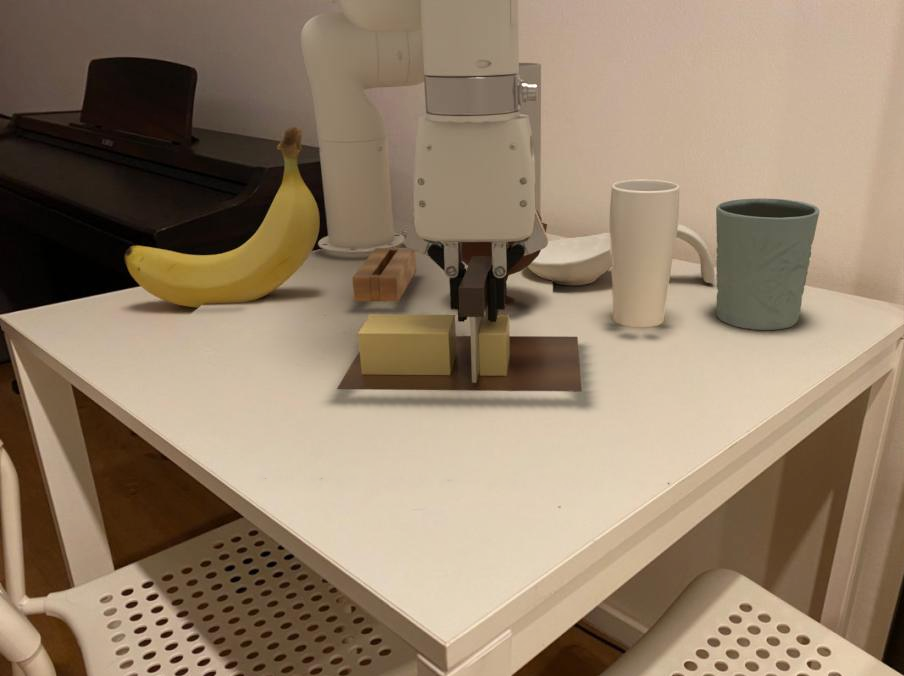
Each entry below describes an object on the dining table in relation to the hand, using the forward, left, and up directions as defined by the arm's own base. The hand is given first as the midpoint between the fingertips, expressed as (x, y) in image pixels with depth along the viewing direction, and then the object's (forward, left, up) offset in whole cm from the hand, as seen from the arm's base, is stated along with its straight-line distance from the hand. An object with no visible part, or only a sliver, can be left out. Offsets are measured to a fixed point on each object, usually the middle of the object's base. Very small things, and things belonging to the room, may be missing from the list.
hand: (478, 315), depth 71 cm
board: (-1, -1, -6) cm, 6 cm away
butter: (0, -6, -5) cm, 8 cm away
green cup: (-17, +29, -6) cm, 34 cm away
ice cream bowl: (-19, +1, -6) cm, 20 cm away
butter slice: (0, +1, -5) cm, 5 cm away
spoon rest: (-31, +15, -6) cm, 35 cm away
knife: (0, 0, -4) cm, 4 cm away
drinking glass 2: (-13, +16, -6) cm, 21 cm away
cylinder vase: (-44, -1, -6) cm, 44 cm away
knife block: (-25, -13, -6) cm, 29 cm away
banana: (-20, -31, -6) cm, 38 cm away
